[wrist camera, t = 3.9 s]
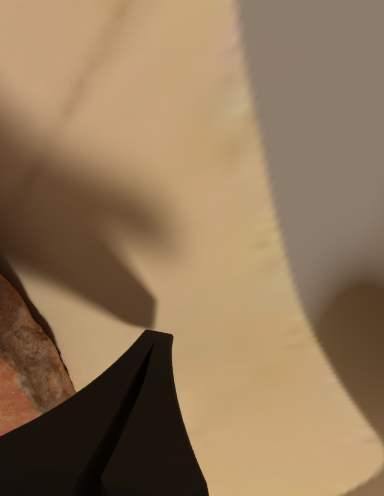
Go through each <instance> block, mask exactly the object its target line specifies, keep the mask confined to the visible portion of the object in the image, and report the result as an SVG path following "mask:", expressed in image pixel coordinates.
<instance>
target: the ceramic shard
mask: <svg viewBox="0 0 384 496" xmlns="http://www.w3.org/2000/svg"><path fill="white" fill-rule="evenodd" d="M74 394H76V391H75V389H74V387H73V385H72V383H71V382H70V378H69V376H68V374H67V373H66V371H65V369H64V367H63V363H62V362H61V361H60V358H59V355H58V352H57V350H56V348H55V346H54V344H53V343H52V341H51V339H50V338H49V337H48V336H47V335H45V333H44V332H43V331H42V327H41V326H40V325H38V324H37V323H36V322H35V321H34V320H33V319H32V317H31V315H30V313H29V311H28V309H27V307H26V305H25V303H24V301H23V299H22V298H21V296H20V295H19V294H18V292H17V291H16V290H15V289H14V288H13V286H12V285H11V284H10V283H9V281H8V280H6V279H5V278H4V277H3V276H2V275H1V274H0V436H1V435H4V434H6V433H8V432H10V431H12V430H14V429H16V428H18V427H20V426H22V425H24V424H26V423H28V422H30V421H31V420H33V419H35V418H37V417H39V416H40V415H42V414H44V413H45V412H47V411H49V410H51V409H52V408H54V407H56V406H57V405H59V404H61V403H62V402H64V401H65V400H67V399H68V398H70V397H71V396H73V395H74Z"/></svg>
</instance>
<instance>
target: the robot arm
mask: <svg viewBox="0 0 384 496" xmlns="http://www.w3.org/2000/svg"><path fill="white" fill-rule="evenodd" d="M172 344H173V335H172V334H168V333H163V332H157V331H152V330H145V331H144V332H143V333H142V334H141V336H140V337H139V338H138V339H137V340H136V341H135V342H134V344H133V345H132V346H131V347H130V348H129V349H128V350H127V351H126V352H125V353H124V354H123V355H122V356H121V357H120V358H119V359H118V360H117V361H116V362H115V363H113V364H112V365H111V366H110V367H109V368H108V369H107V370H106V371H104V372H103V373H102V374H101V375H100V376H98V377H97V378H96V379H95V380H93V381H92V382H91V383H90V384H88V385H87V386H86V387H84V388H83V389H81V390H80V391H79V392H77V393H76V394H74V395H73V396H71V397H70V398H68V399H67V400H65V401H64V402H62V403H61V404H59V405H57V406H56V407H54V408H52V409H51V410H49V411H47V412H45V413H44V414H42V415H40V416H39V417H37V418H35V419H33V420H31V421H30V422H28V423H26V424H24V425H22V426H20V427H18V428H16V429H14V430H12V431H10V432H8V433H6V434H4V435H1V436H0V496H209V493H208V488H207V483H206V480H205V478H204V476H203V474H202V471H201V469H200V467H199V464H198V462H197V459H196V457H195V454H194V451H193V449H192V446H191V444H190V441H189V437H188V434H187V431H186V428H185V425H184V422H183V419H182V415H181V411H180V407H179V403H178V399H177V394H176V389H175V383H174V376H173V367H172Z"/></svg>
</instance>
